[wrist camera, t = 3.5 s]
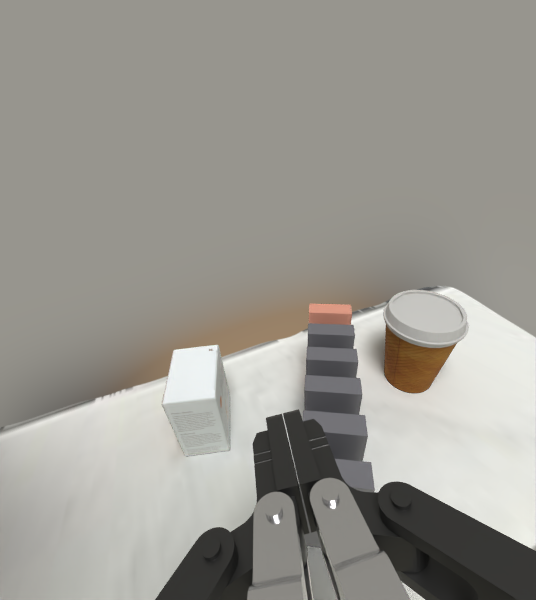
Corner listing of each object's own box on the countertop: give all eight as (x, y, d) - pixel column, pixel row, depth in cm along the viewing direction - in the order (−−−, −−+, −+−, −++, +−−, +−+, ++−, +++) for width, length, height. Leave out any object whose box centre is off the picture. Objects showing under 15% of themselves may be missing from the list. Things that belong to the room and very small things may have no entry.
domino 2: (345, 408, 40) (354, 335, 32) (307, 405, 41) (307, 333, 33) (344, 397, 41) (353, 324, 34) (308, 394, 42) (308, 323, 34)
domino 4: (349, 467, 34) (362, 394, 26) (304, 463, 34) (304, 390, 27) (348, 452, 35) (360, 378, 28) (305, 447, 36) (305, 374, 28)
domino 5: (352, 506, 31) (367, 436, 23) (303, 499, 31) (302, 430, 24) (351, 487, 32) (365, 415, 25) (304, 481, 33) (303, 410, 25)
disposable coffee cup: (421, 348, 48) (440, 284, 41) (459, 398, 40) (491, 329, 33) (362, 356, 47) (372, 292, 40) (390, 408, 39) (408, 341, 32)
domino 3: (347, 436, 37) (358, 362, 29) (306, 432, 38) (306, 359, 30) (346, 422, 38) (356, 349, 31) (306, 419, 39) (307, 346, 31)
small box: (191, 401, 43) (172, 348, 36) (231, 396, 43) (218, 342, 37) (184, 458, 36) (159, 404, 30) (230, 452, 36) (215, 397, 30)
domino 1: (344, 385, 43) (351, 313, 35) (308, 383, 44) (309, 312, 36) (343, 375, 44) (350, 304, 37) (309, 373, 45) (309, 303, 38)
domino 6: (355, 553, 28) (374, 489, 20) (301, 544, 28) (299, 480, 21) (354, 529, 29) (371, 462, 22) (302, 522, 30) (300, 455, 22)
